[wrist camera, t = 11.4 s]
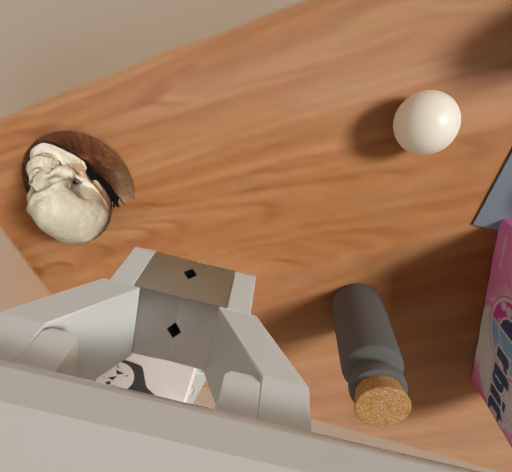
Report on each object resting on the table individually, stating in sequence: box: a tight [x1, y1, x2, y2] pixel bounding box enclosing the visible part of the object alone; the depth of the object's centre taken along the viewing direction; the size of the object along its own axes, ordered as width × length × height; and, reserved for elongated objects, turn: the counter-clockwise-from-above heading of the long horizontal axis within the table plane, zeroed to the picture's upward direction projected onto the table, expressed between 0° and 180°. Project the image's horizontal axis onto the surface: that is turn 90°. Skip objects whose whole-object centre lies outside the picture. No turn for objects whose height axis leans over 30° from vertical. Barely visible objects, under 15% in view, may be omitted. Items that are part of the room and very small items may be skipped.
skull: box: [22, 131, 135, 244], centre depth 41 cm, size 12×10×10 cm
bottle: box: [332, 284, 411, 427], centre depth 40 cm, size 6×6×15 cm
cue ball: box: [393, 90, 461, 155], centre depth 35 cm, size 6×6×6 cm
